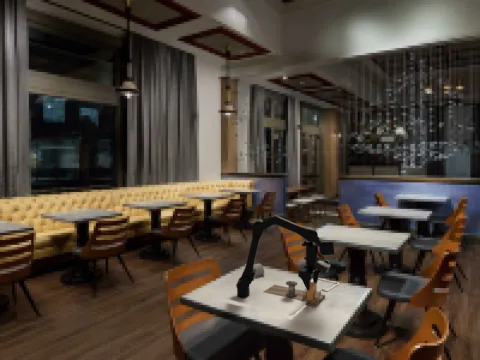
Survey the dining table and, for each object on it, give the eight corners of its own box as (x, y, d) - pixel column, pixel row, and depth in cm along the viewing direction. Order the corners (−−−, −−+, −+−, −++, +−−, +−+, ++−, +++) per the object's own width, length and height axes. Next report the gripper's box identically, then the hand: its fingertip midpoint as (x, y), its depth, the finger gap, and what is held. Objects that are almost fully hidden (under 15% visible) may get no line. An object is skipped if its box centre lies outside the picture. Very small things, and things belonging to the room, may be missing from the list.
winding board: (315, 306, 159) (315, 290, 158) (263, 294, 174) (262, 280, 174) (325, 298, 169) (324, 283, 168) (274, 287, 184) (274, 273, 184)
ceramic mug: (245, 277, 201) (245, 264, 201) (257, 274, 206) (257, 261, 205) (256, 282, 193) (256, 269, 192) (268, 279, 197) (267, 266, 197)
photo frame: (310, 275, 200) (339, 282, 188) (310, 277, 200) (339, 284, 188) (297, 282, 189) (327, 290, 177) (297, 284, 189) (327, 292, 177)
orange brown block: (316, 297, 166) (316, 282, 166) (312, 300, 162) (312, 286, 162) (310, 295, 168) (310, 281, 168) (306, 299, 164) (306, 285, 163)
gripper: (320, 262, 152) (321, 297, 153) (334, 252, 167) (334, 284, 168) (297, 258, 158) (297, 292, 159) (313, 249, 173) (313, 280, 174)
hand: (311, 287), depth 165 cm, fingers open, 9 cm apart
